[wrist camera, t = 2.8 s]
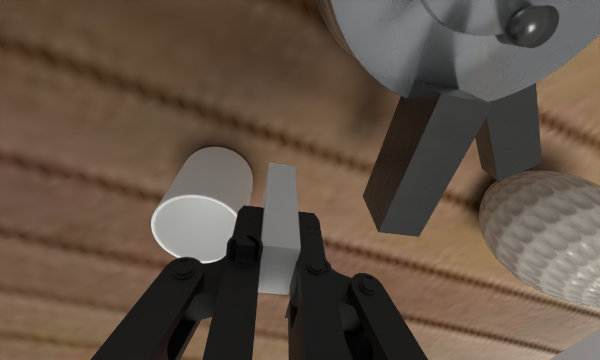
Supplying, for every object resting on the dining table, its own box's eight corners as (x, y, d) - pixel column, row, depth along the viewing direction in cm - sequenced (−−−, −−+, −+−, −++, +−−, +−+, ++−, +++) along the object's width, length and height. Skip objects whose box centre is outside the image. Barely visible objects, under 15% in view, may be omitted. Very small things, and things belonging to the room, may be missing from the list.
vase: (577, 157, 36) (772, 256, 21) (520, 231, 42) (641, 345, 28) (487, 145, 34) (635, 244, 20) (443, 224, 40) (530, 341, 26)
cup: (264, 161, 33) (258, 215, 25) (229, 229, 39) (214, 293, 30) (196, 132, 31) (163, 181, 22) (168, 209, 36) (133, 272, 28)
